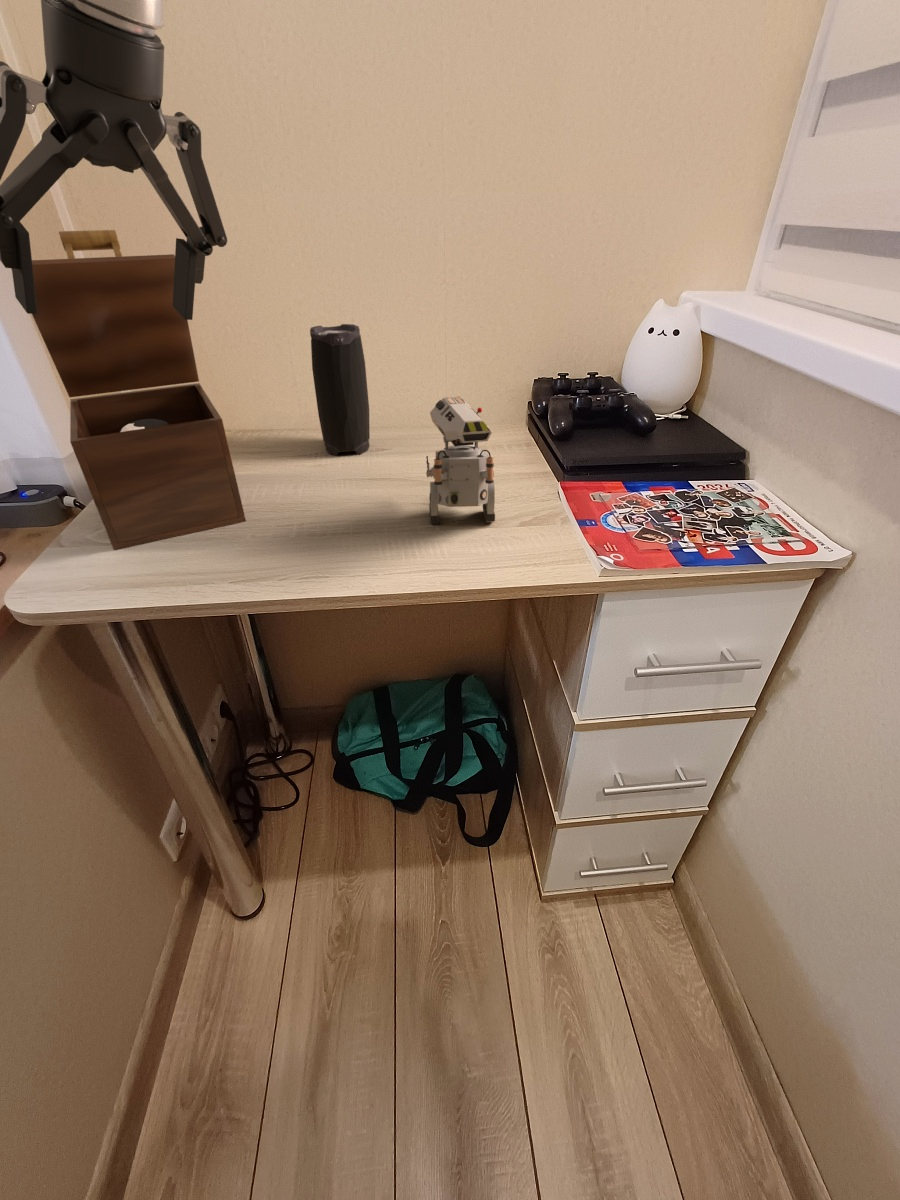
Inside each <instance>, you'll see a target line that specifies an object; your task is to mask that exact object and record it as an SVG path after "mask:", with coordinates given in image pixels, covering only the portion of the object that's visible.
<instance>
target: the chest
mask: <svg viewBox="0 0 900 1200" xmlns="http://www.w3.org/2000/svg"><path fill="white" fill-rule="evenodd" d="M69 402H70V403H69V405H70V407H69V408H70V410H69V411H70V413H69V415H70V417H69V421H70V422H69V423H70V426H69V427H70V428H69V431H70V432H69V433H70V435H69V436H70V438H69V439H70V441H69V442H70V445H71V447H72V450H73V453H74V454H75V457H76V459H77V462H78V465H79V467H80V470H81V472H82V475H83V477H84V479H85V483H86V485H87V488H88V489H89V492H90V494H91V497H92V499H93V502H94V504H95V507H96V510H97V513H98V514H99V517H100V519H101V522H102V525H103V527H104V529H105V532H106V534H107V536H108V540H109V542H110V544H111V546H112V550H114V551H116V550H120V549H124V548H130V547H135V546H138V545H139V546H140V545H144V544H148V543H152V542H156V541H161V540H165V539H169V538H175V537H179V536H184V535H188V534H192V533H197V532H202V531H206V530H210V529H215V528H221V527H225V526H229V525H234V524H238V523H239V524H240V523H243V522H246V521H247V520H246V517H245V511H244V506H243V504H242V499H241V498H242V497H241V493H240V490H239V486H238V481H237V476H236V473H235V468H234V463H233V460H232V455H231V451H230V447H229V442H228V438H227V435H226V430H225V426H224V421H223V417H221V415H220V413H219V412H218V410H217V409H216V407H215V406H214V404H213V402H212V401H211V399H210V398H209V396H208V394H207V393H206V391H205V390H204V388H203V387H202V385H201V383H200V382H195V383H187V384H179V385H171V386H163V387H155V388H147V389H139V390H131V391H123V392H115V393H107V394H99V395H91V396H83V397H78V398H77V397H75V398H70V400H69ZM143 419H158V420H162V421H165V422H167V423H168V424H170V425H165V426H158V427H151V428H145V429H138V430H131V431H125V432H121V430H122V428H123V427H124V426H126V425H127V424H129V423H131V422H134V421H138V420H143Z"/></svg>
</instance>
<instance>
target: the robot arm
mask: <svg viewBox="0 0 900 1200" xmlns="http://www.w3.org/2000/svg"><path fill="white" fill-rule="evenodd" d="M166 2H167V1H166V0H40V6H41V7H40V8H41V20H42V33H43V35H42V36H43V46H44V56H45V73H44V76H43V78H42V80H41V81H40V80H37V79H34V78H32V77H29V76H27V75H25V74H22V73H20V72H17V71H15V70H14V69H12V67H11V66H10V65H9V64H8V63H6V62H5V61H3V60H2V61H1V60H0V181H2V179H3V176H4V173H5V171H6V169H7V166H8V165H9V163H10V162H9V161H10V159H11V156H12V155H13V152H14V151H15V148H16V146H17V143H18V141H19V139H20V138H21V137H20V136H21V134H22V132H23V129H24V127H25V123H26V118H27V115H32V114H34V113H35V111H36V109H37V107H38V105H39V104H44V105H45V107H46V108H47V110H48V112H49V113H50V114H51V116H52V117H53V119H54V120H53V121H51V123H50V124H49V125H48V126H47V127H46V128H45V130H44V131H42V134H41V139H40V140H39V141H38V143H37V144H36V145H35V146H34V147H33V148H32V149H31V151H30V152H29V153H27V155H26V156H25V157H24V159H22V161H21V162H20V163H19V164H18V165H17V166H16V167H15V168H14V170H12V171H11V172H10V174H9V175H8V176H7V177H6V178H5V179H4V180H3V181H2V182H1V184H0V262H1V264H2V265H3V266H4V268H5V269H11V268H12V269H11V274H12V281H13V287H14V288H13V289H14V297H15V299H16V301H18V303H19V304H20V306H21V308H23V310H24V311H25V312H26V314H28V315H29V314H30V315H32V314H38V313H37V303H36V294H35V285H34V275H33V266H32V260H33V257H32V249H31V248H32V247H31V240H30V233H29V231H28V230H27V229H26V227H25V226H24V225H23V223H22V222H21V221H22V220H23V218H25V216H26V215H27V214H28V213H29V212H30V211H31V210H32V209H33V208H34V206H35V205H36V204H37V203H38V202H40V200H41V199H42V198H43V197H44V196H45V195H46V193H47V192H49V190H50V189H52V187H53V186H54V185H55V184H56V183H57V182H58V180H60V178H61V177H62V176H63V175H64V174H65V173H66V171H68V170H69V169H74V168H75V167H76V166H78V164H79V163H81V161H82V160H83V159H84V160H86V161H87V162H89V163H90V164H91V165H92V166H96V167H100V168H109V167H114V168H116V169H119V170H121V171H123V172H125V173H129V174H130V173H131V174H134V173H135V171H137V170H139V169H140V170H141V171H142V173H143V174H144V175H145V176H146V178H147V180H148V181H149V183H150V184H151V186H152V187H153V189H154V191H155V192H156V193H157V195H158V197H159V198H160V199H161V202H162V203H163V204H164V205H165V208H166V209H167V210H168V212H169V213H170V215H171V217H172V218H173V220H174V221H175V223H176V224H177V226H178V227H179V229H180V231H181V232H182V233H183V236H185V238H186V240H185V239H184V238H179V237H178V238H177V237H176V238H175V250H174V251H175V252H174V255H175V268H174V288H173V307H174V308H175V309H176V310H177V311H178V312H179V313H180V315H181V316H182V317H183V318H184V319H185V320H188V321H192V320H193V317H194V316H193V315H194V305H195V304H194V303H195V289H196V284H198V285H199V284H200V285H201V284H202V283H203V281H204V276H205V263H206V257H209V256H211V255H212V253H213V251H214V248H213V247H215V246H218V247H219V248H224V247H225V246H227V244H228V237H227V233H226V230H225V228H224V224H223V221H222V218H221V215H220V212H219V207H218V205H217V202H216V199H215V196H214V192H213V189H212V186H211V182H210V180H209V176H208V173H207V169H206V166H205V163H204V160H203V156H202V130H201V128H200V127H199V125H197V124H196V123H195V122H194V121H193V120H192V119H190V117H188V115H186V114H185V113H183V112H181V111H177V112H175V113H174V115H168V114H163V110H162V100H163V95H164V67H165V46H164V44H163V43H162V40H161V38H160V37H159V36H158V35H157V34H156V31H157V30H161V29H163V28H164V27H165V26H166ZM166 136H168V141H169V142H170V143H171V145H172V146H173V147H175V152H176V154H177V158H178V160H179V164H180V166H181V170H182V173H183V176H184V178H185V181H186V183H187V188H188V191H189V192H190V196H191V199H192V202H193V204H194V207H195V210H196V213H197V216H198V219H199V222H200V224H201V226H199V224H197V222H196V220H195V218H194V216H193V214H191V212H190V210H189V209H188V207H187V205H186V203H185V202H184V199H182V198H181V196H180V194H179V192H178V190H177V189H176V187H175V186H174V184H173V183H172V181H171V180H170V178H169V175H168V173H167V171H166V169H165V168H164V166H163V164H162V163H161V161H160V160H159V157H157V154H156V153H155V150H156V149H157V148H158V147H159V145H160V144H161V143H162V141H163V140H164V139H165V137H166Z"/></svg>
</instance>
